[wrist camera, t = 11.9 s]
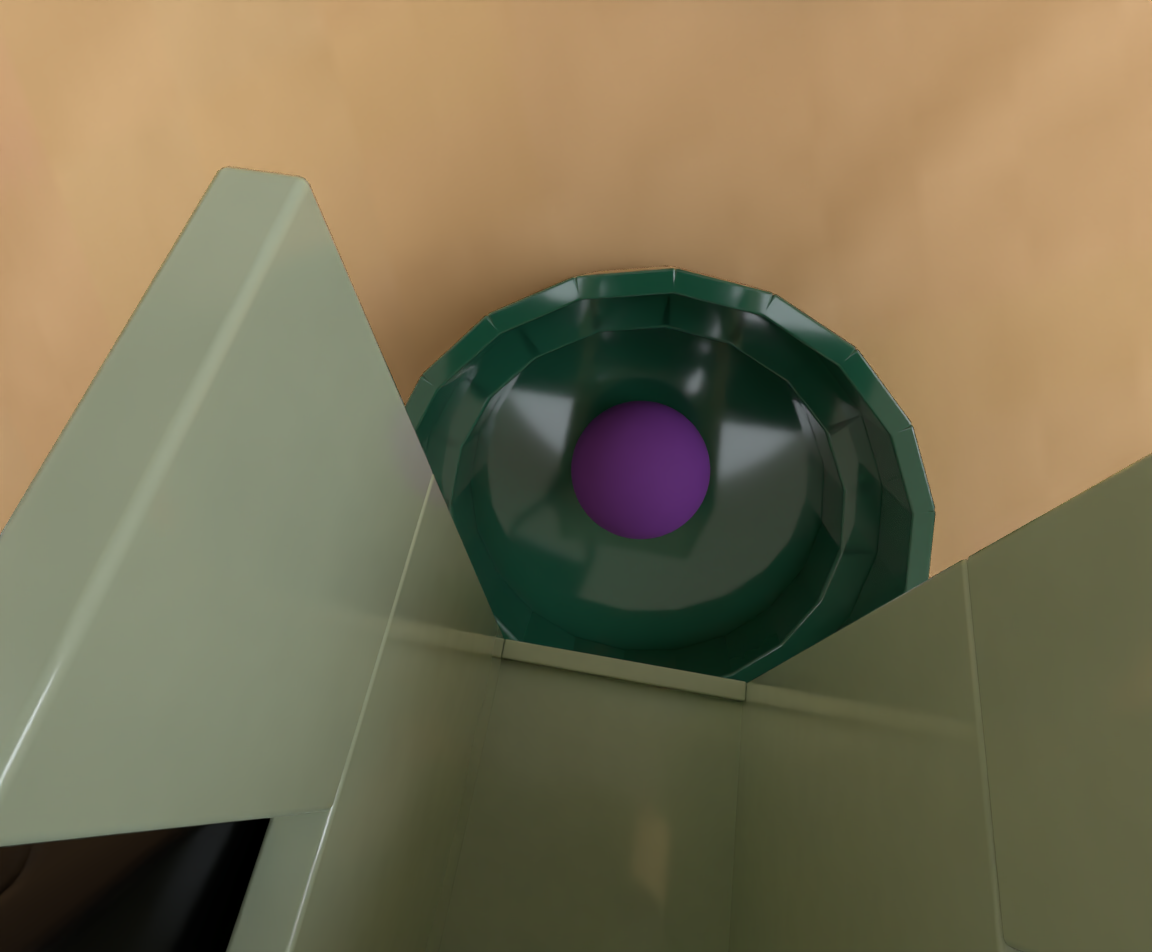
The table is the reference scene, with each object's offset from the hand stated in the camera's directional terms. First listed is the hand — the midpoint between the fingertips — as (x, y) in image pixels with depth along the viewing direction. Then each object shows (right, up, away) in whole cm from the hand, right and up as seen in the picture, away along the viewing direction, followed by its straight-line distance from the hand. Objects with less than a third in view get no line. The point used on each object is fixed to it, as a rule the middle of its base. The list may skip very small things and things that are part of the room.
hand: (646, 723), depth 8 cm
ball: (+1, +3, +9) cm, 10 cm away
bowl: (+1, +2, +12) cm, 12 cm away
